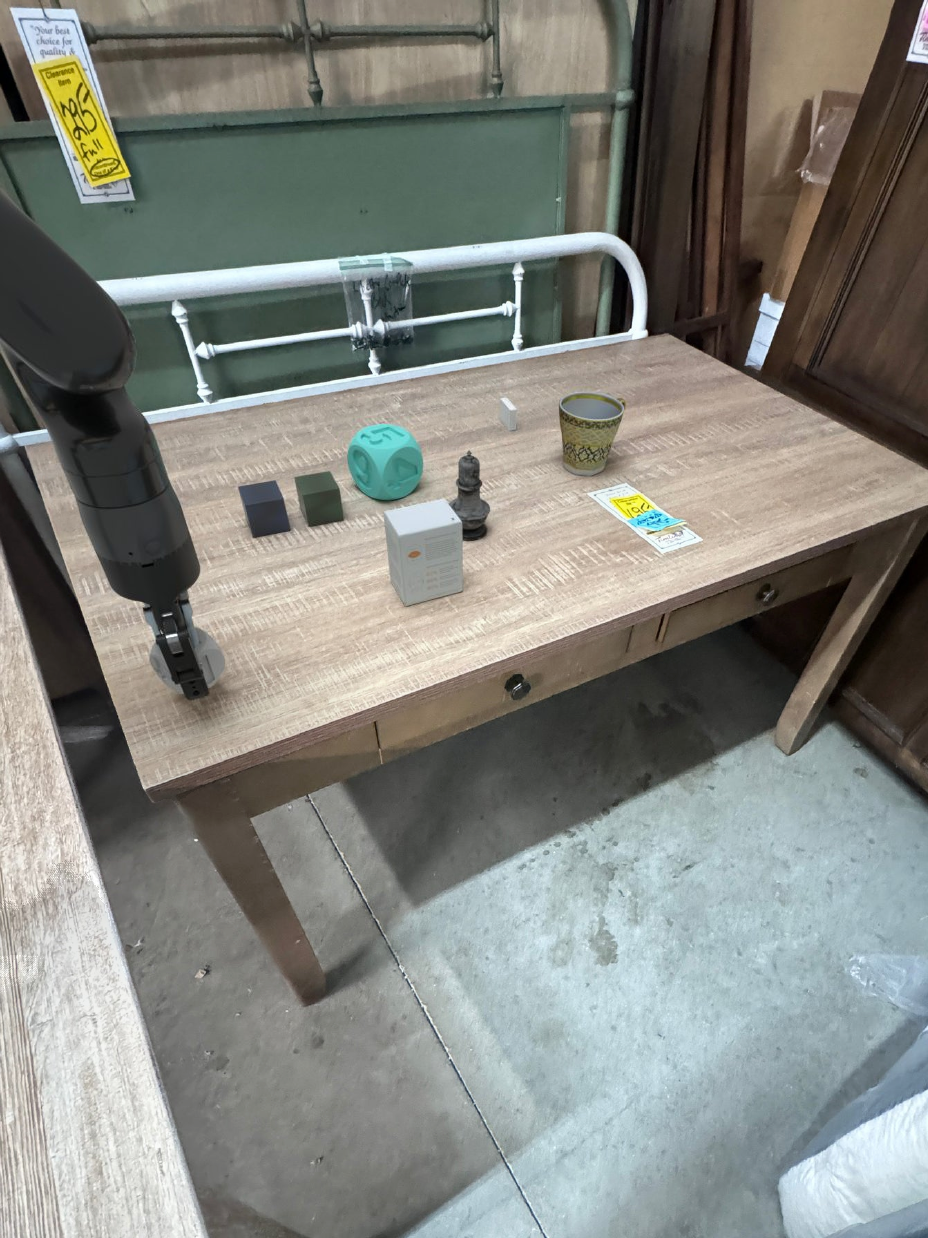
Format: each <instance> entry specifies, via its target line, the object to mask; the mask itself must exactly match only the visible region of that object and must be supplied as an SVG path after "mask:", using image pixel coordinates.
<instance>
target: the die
mask: <svg viewBox="0 0 928 1238" xmlns="http://www.w3.org/2000/svg"><path fill="white" fill-rule="evenodd" d="M187 627H188V626H187ZM195 629H196V632H197V636H198V639H199V645H198V646H197V647H196V651H197V654H198V658H199V661H201V662H202V665H203V666H202V669H203V672H204V677H205V680H206V683H207V685H208V689H209V690H210V688H212V687H213V686H214V685H216V684H217V682H219V680H220V678H221V676H222V675H223V673H224V670H225V667H226V666H225V664H226V657H225V655H224V652H223V650H222V648H221V646H220V645H219V644H218V642H217V641H216V640H215V639H214V637H212V636H211V635H210V634H209V633H208V632H206V631H205V630H204V629H202V628H200V627H197V626H195ZM188 632H189V629H188ZM188 632H187V633H188ZM189 634H190V632H189ZM190 636H191V635H190ZM149 663H150V666H151V667H152V669H153V671H154V673H155V674H156V675H157V677H158V678H159V679H160V680H161V681H162V682H163V683H164V684H165V685H166V687H168V688H169V689H170V690H172V691H173V692H175V693H177V694H180V695H181V694H182V695H184V693H183V690H182V688H181V685H180V684H177V685H175V683H174V681H172V679H171V674H170V671H169V669H168V667H167V664H166V662H165V660H164V657H163V655H162V653H161V652H160V651H159V648H158V645H157V644H156V641H155V640H154V642H153V644H152V646H151V649H150V652H149Z"/></svg>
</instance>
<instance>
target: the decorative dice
mask: <svg viewBox="0 0 928 1238" xmlns="http://www.w3.org/2000/svg"><path fill="white" fill-rule="evenodd" d="M346 460H347V466H348V470H349V472H350V475H351V477H352V479H353V482H355V485H356V486H357V487H358V489H359V490H360V491H361V492H362V493H363V494H364V495H366V496H368V497H369V498H372V499H375V500H379V501H394V500H399V499H403V498H405V497H406V496H409V494H411V493H412V492H413V491H414V490H415V489H416V487H417V486H418V485H419V483H420V481H421V478H422V475H423V472H424V458H423V453H422V450H421V447H420V445H419V443H418V442H417V440H416V438H415V437H414V436H413V435H412V434H411V432H409V431H408V430H407V429H405V428H404V427H403V426H399V425H395V424H390V423H378V424H372V425H368V426H365V427H363V428H361V429H360V430H359V431H358V432H357V433H356V434H355V435H354V436H353V438H352V439H351V442H350V443H349V445H348V449H347V454H346Z"/></svg>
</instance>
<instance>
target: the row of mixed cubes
mask: <svg viewBox="0 0 928 1238" xmlns="http://www.w3.org/2000/svg"><path fill="white" fill-rule="evenodd" d="M293 478H294V483H295V484H294V485H295V488H296V493H297V494H296V495H297V498H298V504H299V510H300V511H301V513H302V515H303V518H304V520H305V522H306V524H307V526H308V528H309V527H310V528H311V527H314V526H320V525H325V524H329V523H335V522H340V521H341V522H342V521H344V520H345V517H344V509H343V503H342V495H341V489H340V487H339V484H338V483H337V481H336V480H335V478H334V475H333V474H332V472H331V471H330V470H328V471H322V472H316V473H309V474H304V475H299V476H294V477H293ZM237 489H238V493H239V497H240V500H241V504H242V509H243V511H244V515H245V520H246V522H247V525H248V528H249V530H250V533H251V535H252V538H260V537H263V536H269V535H275V534H279V533H280V534H281V533H285V532H289V531H291V526H290V521H289V516H288V513H287V508H286V503H285V498H284V495H283V494H282V491H281V489H280V487H279V484H278V483H277V480H275V479H274V480H268V481H262V482H256V483H250V484H245V485H239V486H237Z"/></svg>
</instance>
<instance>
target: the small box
mask: <svg viewBox="0 0 928 1238" xmlns="http://www.w3.org/2000/svg"><path fill="white" fill-rule="evenodd" d="M382 514H383V523H384V524H383V525H384V533H385V541H386V542H385V543H386V551H387V560H388V569H389V578H390V583H391V584H392V586H393V588H394V590H395V592H396V593H397V595H398V597H399V598H400V600H401V602H402V604H403V605H404V606H405V607H408V606H411V605H416V604H419V603H424V602H426V601H430V600H435V599H439V598H442V597H445V596H451V595H454V594H457V593H460V592H463V591H464V563H463V562H464V561H463V560H464V559H463V558H464V555H463V554H464V553H463V546H464V545H463V544H464V543H463V542H464V540H463V538H462V521H461V520H460V519H459V517H458V516H457V515H456V513H455V512H454V511H453V509H452V508H451V507H450V505H449V503H448V501H447V500H446V499H445V498H440V499H434V500H431V501H426V502H421V503H416V504H412V505H407V506H403V507H398V508H393V509H389V510H384V511H383V513H382Z"/></svg>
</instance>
